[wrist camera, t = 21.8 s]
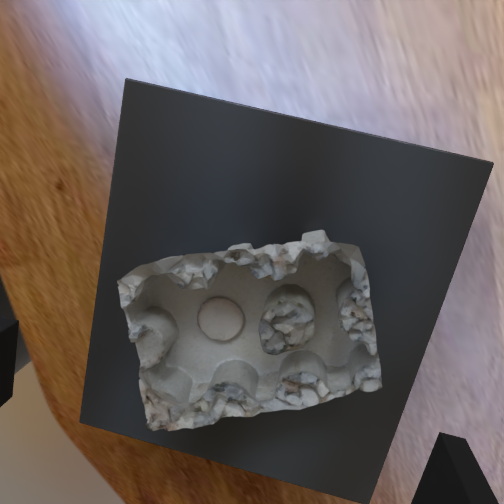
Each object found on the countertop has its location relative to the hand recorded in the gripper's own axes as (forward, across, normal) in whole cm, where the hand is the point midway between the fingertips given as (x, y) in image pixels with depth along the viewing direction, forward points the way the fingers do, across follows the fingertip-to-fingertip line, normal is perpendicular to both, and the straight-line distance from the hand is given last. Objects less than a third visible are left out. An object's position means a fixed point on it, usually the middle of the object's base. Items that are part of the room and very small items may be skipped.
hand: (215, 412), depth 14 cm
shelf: (+14, 0, 0) cm, 14 cm away
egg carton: (+8, 0, 0) cm, 8 cm away
